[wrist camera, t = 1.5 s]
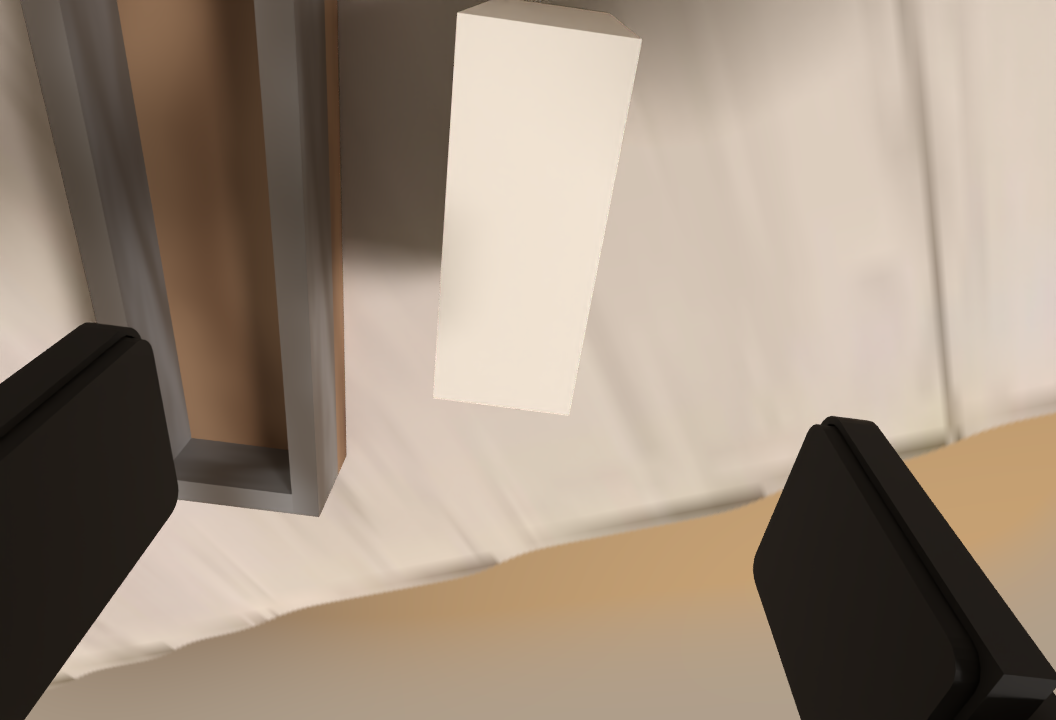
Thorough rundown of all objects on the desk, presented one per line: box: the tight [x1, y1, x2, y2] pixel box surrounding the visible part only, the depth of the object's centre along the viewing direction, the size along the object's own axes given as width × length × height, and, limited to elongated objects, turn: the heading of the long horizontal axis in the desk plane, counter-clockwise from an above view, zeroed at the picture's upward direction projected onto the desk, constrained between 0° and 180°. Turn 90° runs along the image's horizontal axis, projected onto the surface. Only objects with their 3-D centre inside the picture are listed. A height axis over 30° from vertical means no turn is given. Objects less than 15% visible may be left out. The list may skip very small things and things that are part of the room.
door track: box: [20, 0, 346, 517], centre depth 25 cm, size 8×28×4 cm, turn 173°
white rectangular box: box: [433, 0, 642, 416], centre depth 21 cm, size 4×10×11 cm, turn 173°
